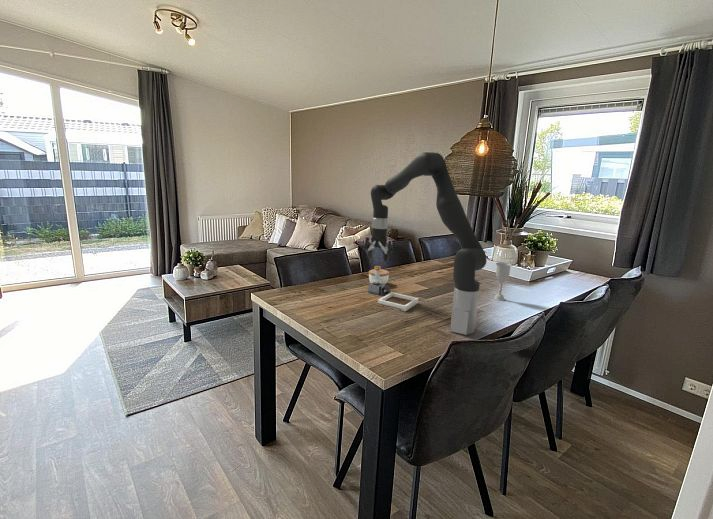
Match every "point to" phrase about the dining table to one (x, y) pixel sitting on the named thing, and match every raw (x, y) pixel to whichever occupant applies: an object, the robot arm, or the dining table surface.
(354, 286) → the dining table surface
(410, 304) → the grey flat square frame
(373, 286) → the block
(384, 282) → the lidded jar
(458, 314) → the robot arm
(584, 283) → the dining table surface
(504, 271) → the chalice
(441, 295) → the dining table surface
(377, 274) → the pin
